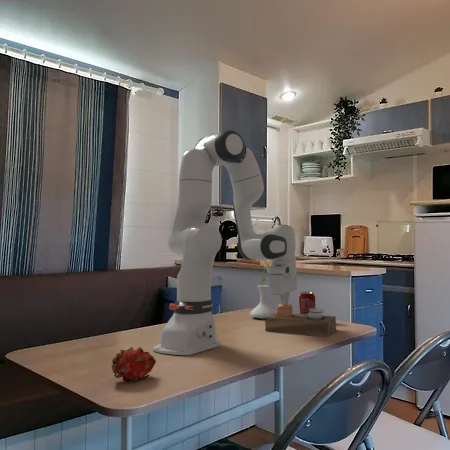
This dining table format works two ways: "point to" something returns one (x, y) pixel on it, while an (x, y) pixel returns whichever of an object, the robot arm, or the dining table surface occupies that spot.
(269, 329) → the walnut block
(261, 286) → the flower in vase
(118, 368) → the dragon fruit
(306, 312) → the soda can
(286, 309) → the terracotta plunger
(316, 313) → the metal plunger
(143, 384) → the dining table surface
